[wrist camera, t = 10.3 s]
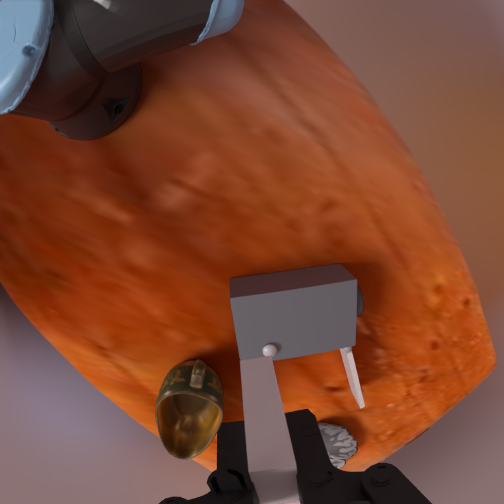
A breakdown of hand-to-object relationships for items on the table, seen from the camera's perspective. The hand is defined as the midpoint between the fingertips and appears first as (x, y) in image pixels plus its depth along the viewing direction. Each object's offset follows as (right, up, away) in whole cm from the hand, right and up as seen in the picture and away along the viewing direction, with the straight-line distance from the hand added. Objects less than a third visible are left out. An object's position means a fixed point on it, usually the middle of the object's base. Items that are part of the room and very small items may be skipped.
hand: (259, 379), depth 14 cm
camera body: (+5, -1, +31) cm, 32 cm away
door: (+16, -12, +35) cm, 40 cm away
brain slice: (+13, -35, +41) cm, 56 cm away
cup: (-10, -17, +35) cm, 40 cm away
